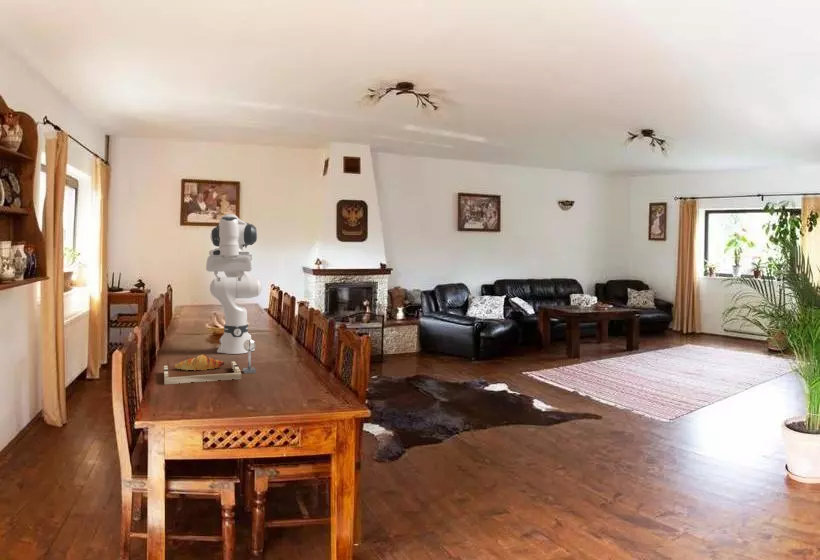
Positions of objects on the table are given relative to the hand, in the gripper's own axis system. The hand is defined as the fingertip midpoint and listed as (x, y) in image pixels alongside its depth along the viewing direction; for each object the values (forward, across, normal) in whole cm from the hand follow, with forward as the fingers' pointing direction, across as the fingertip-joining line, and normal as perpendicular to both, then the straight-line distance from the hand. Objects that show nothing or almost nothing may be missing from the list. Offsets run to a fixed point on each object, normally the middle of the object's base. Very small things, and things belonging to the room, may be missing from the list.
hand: (229, 281), depth 271 cm
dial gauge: (+39, -6, +20) cm, 44 cm away
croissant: (+40, +14, +6) cm, 42 cm away
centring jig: (+39, +14, +20) cm, 46 cm away
